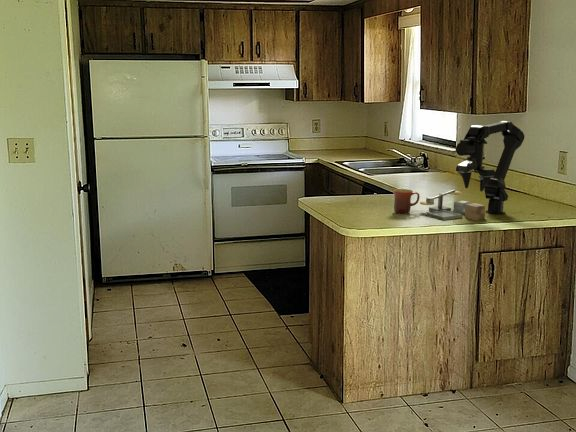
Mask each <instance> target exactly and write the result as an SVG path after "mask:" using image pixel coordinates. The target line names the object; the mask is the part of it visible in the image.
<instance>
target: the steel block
mask: <svg viewBox="0 0 576 432" xmlns="http://www.w3.org/2000/svg"><path fill="white" fill-rule="evenodd" d="M465 204H470V201H468V200H461V199H459V200H455V201H453V211H452V212H454V213H458V214H462V215H465Z"/></svg>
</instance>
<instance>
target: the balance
mask: <svg viewBox="0 0 576 432" xmlns="http://www.w3.org/2000/svg"><path fill="white" fill-rule="evenodd" d="M461 194H462V192H461V191H459V190H455V189H452V190H447V191H446V192H444V193H439V194H437V195H436V196H433V197H431V196H430V197H426V198H425V199H426V200H422V201H419V204H420V205H423V206H429V207H428V211H429V212H435V211H443V210H446V211H450V212H452V208H451V207H449V206H446V205H443V201H444V196H448V195H452V196H453V195H456V196H457V195H461ZM436 199H437V206H435V200H436ZM432 205H433V206H432ZM431 206H432V207H431Z"/></svg>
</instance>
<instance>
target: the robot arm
mask: <svg viewBox="0 0 576 432" xmlns="http://www.w3.org/2000/svg"><path fill="white" fill-rule="evenodd" d="M497 133H501V134H500V135H501V136H502V137H503V140H502V141H503V146H504V147H503V150H502V152H501V155H500V159H499V160H498V163H497V166H496V168H495V169H493V168H489V167H488V168H487V167H486V168H485V166H483V164H484V163H483V160H485V159H486V157H485V156H484V146H485V145H487V144H488V141H486V140H485V139H487V138H489V136H491V135H493V134H497ZM524 140H525V134H524V132H523V130H522V129H521V128H519V127H518V126H517V125H514V123H513V122H511V121H510V120H509V121H508V120H501V121H498V122H495V123H490V124H485V125H480V124H479V125H475V124H474V125H470V127H469V129H468V131H467V132H466V134H465V135H464V137H463V139H460V140H459V142H458V143H457V145H456V146H455V153H456V154H457V155H458V156H460V157H464V156H465V157H466V160H465V161H462V162H460V163H459V164H457V165H456V167H455V171H456V172H457V174H459V175H460V176H461V177H462V181H463V184H464V187H465V189H468V188H469V186H470V180H471V177H472V173H474V174H475V173H476V174H478V175H479V176H478V179H479V180H480V181H479V191H480V192H481V193H482V192H483V191H484V195H485V196H484V197H485V199H488V203H487V205H488V206H487V210H485V213H489V214H493V215H501V214H506V211H504V206H505V205H504V202H506V201H508V199H509V195H508V193H507V191H506V182H505V179H506V177H507V174H508V171H509V168H510V166H511V163H512V160H513V157H514V155H515V152H516V151H517V150H518V149H519V148H520V147H521V146H522V144H523V142H524Z"/></svg>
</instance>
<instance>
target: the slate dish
mask: <svg viewBox="0 0 576 432" xmlns="http://www.w3.org/2000/svg"><path fill="white" fill-rule="evenodd" d="M425 214H426V217H430V218H433V219H436V220H437V219H438V220H441V221H448V220H455V219H463V214H461V213H456V212H453V211H446V210H443V211H435V212H432V211H429V212H427V211H426V213H425Z"/></svg>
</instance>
